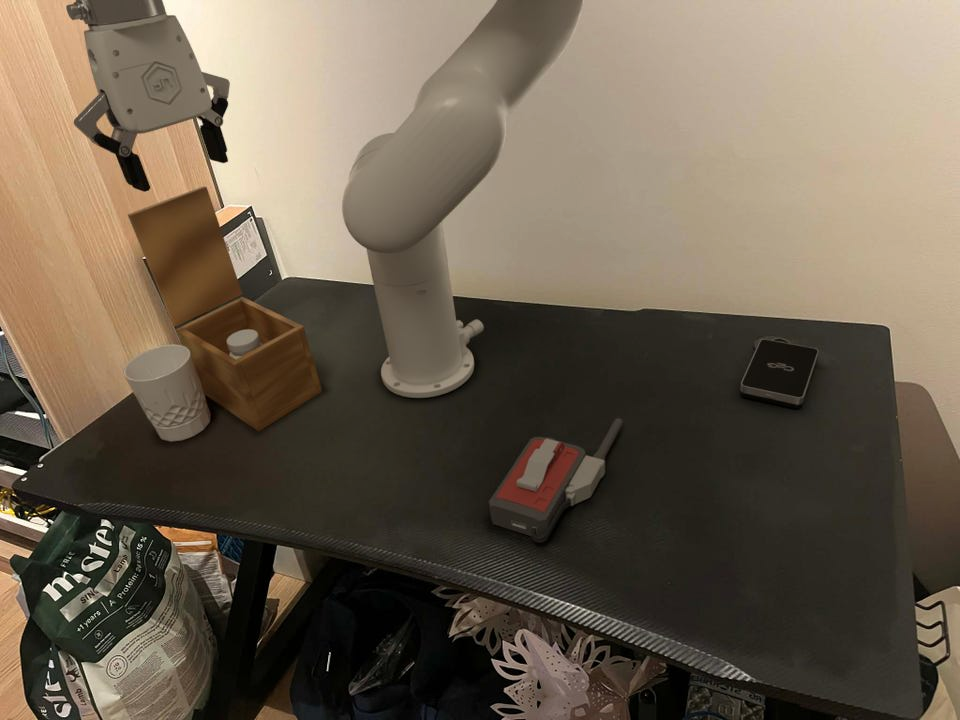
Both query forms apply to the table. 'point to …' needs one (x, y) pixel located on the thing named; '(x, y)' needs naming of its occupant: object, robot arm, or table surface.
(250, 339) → the pill bottle
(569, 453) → the walkie-talkie
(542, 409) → the table surface
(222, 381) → the box
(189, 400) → the white cup
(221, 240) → the caddy lid
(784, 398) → the external hard drive
